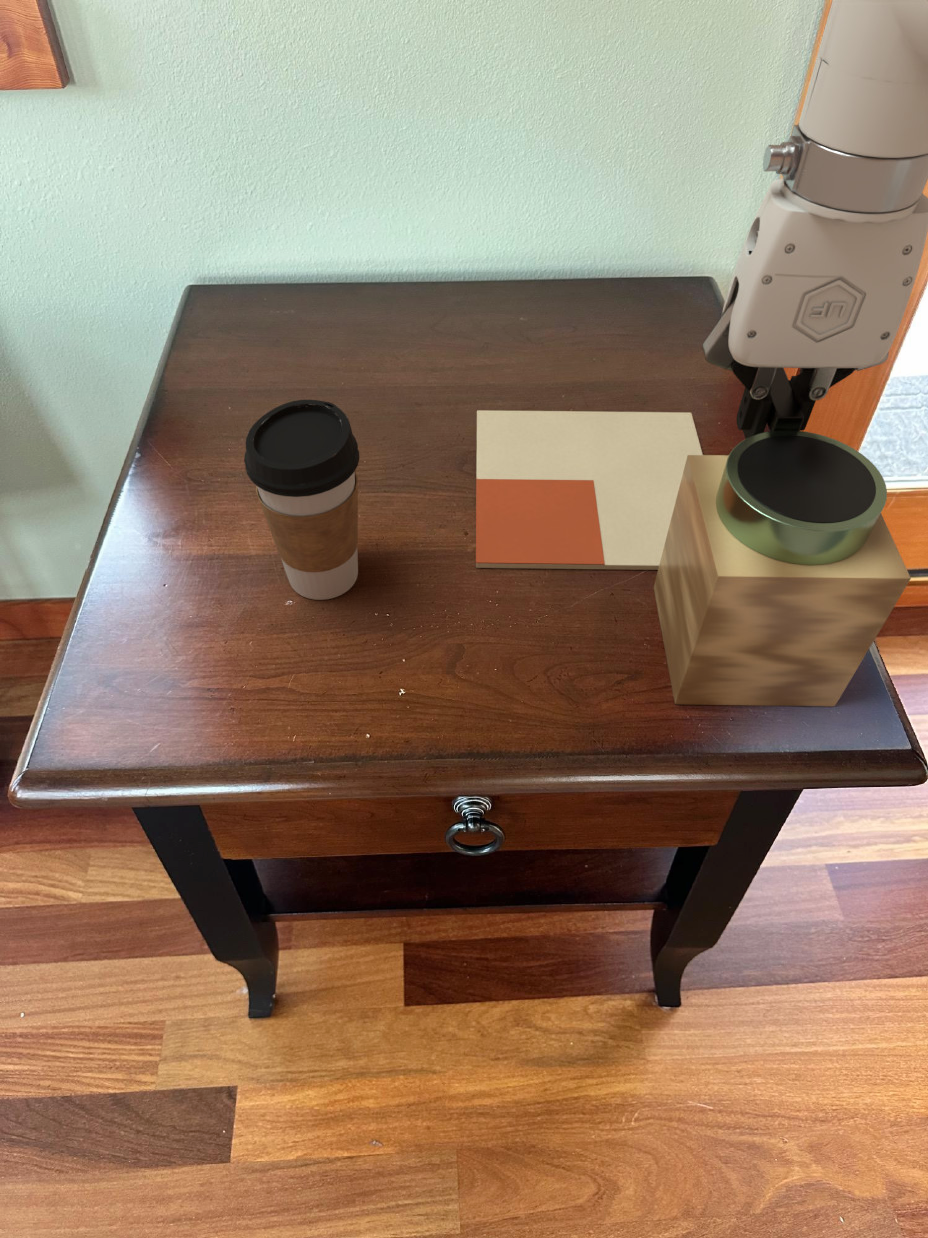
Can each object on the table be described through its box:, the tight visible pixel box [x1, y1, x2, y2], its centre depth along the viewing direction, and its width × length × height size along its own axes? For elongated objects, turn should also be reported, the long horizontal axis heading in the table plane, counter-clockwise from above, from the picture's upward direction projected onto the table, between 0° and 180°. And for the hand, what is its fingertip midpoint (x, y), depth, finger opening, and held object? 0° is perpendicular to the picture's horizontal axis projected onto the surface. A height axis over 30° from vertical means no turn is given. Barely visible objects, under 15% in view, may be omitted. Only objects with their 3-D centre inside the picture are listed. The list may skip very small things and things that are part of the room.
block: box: [653, 454, 912, 707], centre depth 61 cm, size 12×12×14 cm
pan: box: [716, 368, 888, 565], centre depth 57 cm, size 18×10×4 cm, turn 179°
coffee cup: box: [243, 399, 360, 601], centre depth 66 cm, size 8×8×15 cm
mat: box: [475, 409, 704, 571], centre depth 79 cm, size 22×22×1 cm
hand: (766, 434), depth 61 cm, fingers closed on pan
